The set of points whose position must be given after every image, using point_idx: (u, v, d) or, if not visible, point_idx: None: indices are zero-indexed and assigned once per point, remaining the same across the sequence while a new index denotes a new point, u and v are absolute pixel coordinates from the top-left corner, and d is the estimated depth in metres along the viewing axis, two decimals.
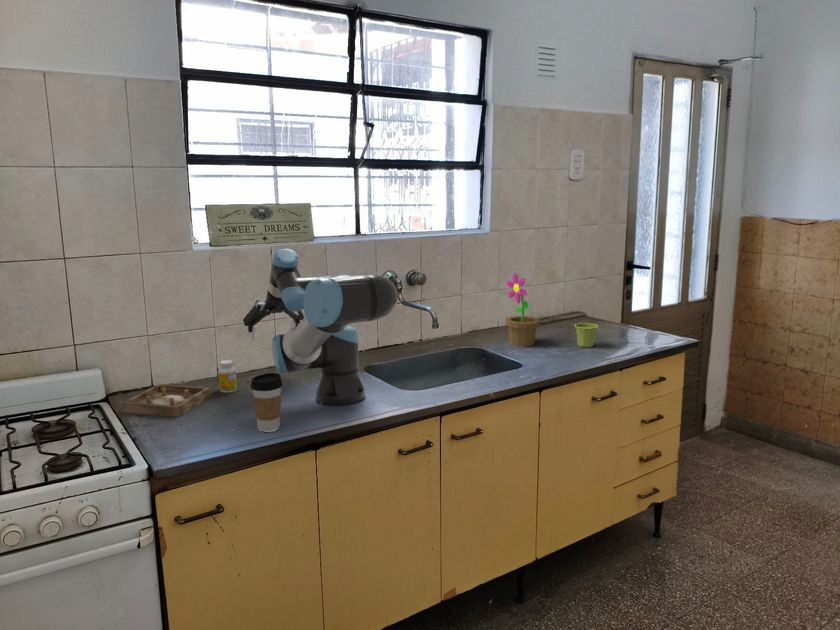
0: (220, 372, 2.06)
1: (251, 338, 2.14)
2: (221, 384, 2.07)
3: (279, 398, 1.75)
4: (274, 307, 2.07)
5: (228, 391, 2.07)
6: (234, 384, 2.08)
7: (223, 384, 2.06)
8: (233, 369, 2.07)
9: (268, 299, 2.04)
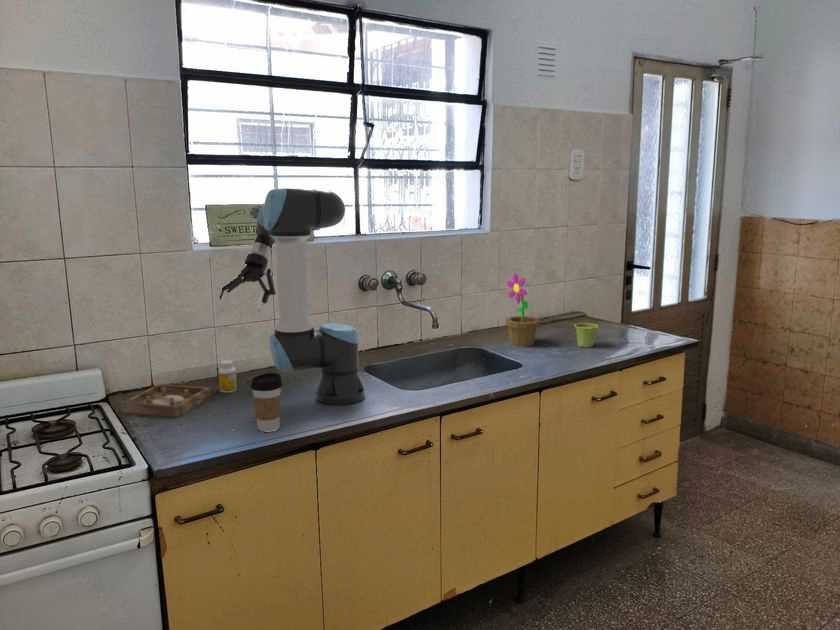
0: (220, 372, 2.06)
1: (219, 304, 2.15)
2: (221, 384, 2.07)
3: (279, 398, 1.75)
4: None
5: (228, 391, 2.07)
6: (234, 384, 2.08)
7: (223, 384, 2.06)
8: (233, 369, 2.07)
9: None
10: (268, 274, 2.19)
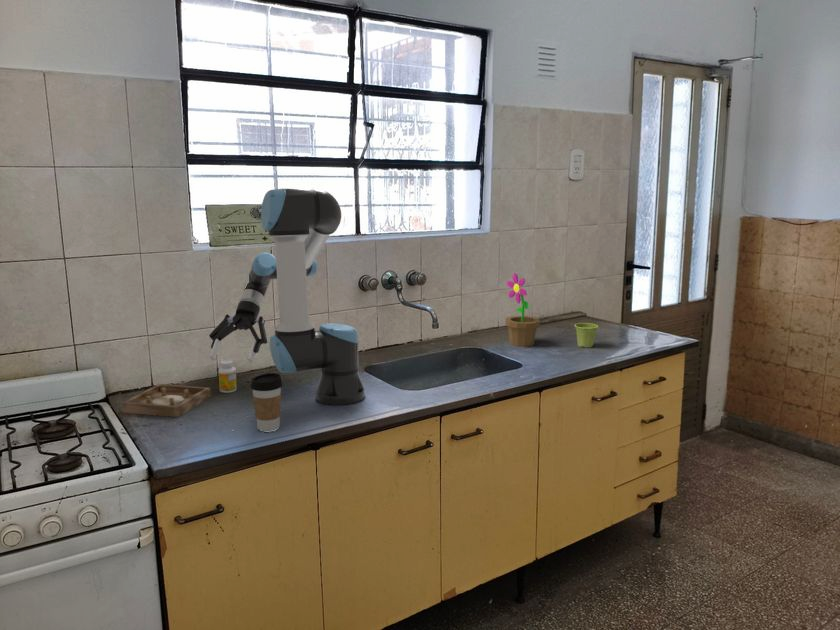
0: (220, 372, 2.06)
1: (210, 353, 2.13)
2: (221, 384, 2.07)
3: (279, 398, 1.75)
4: None
5: (228, 391, 2.07)
6: (234, 384, 2.08)
7: (223, 384, 2.06)
8: (233, 369, 2.07)
9: None
10: (260, 322, 2.17)
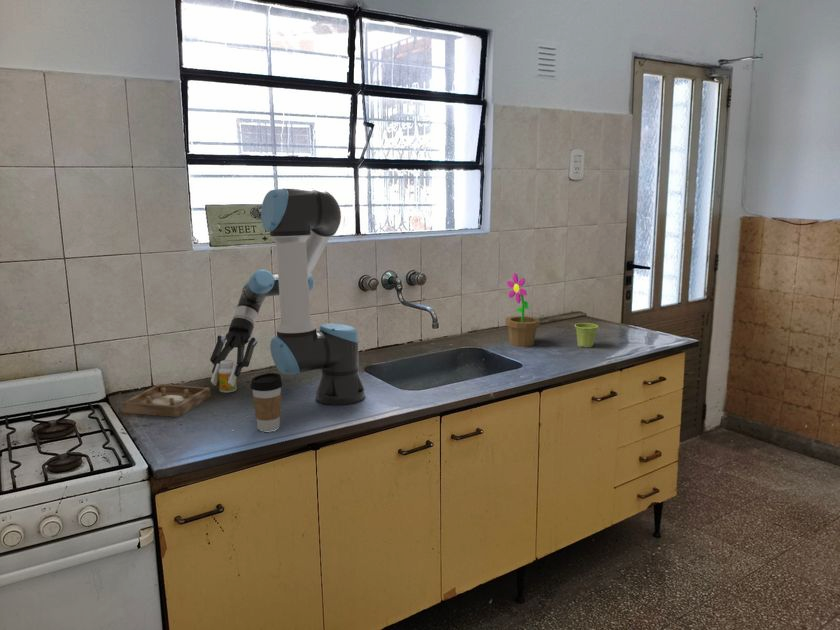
0: (220, 372, 2.06)
1: None
2: (221, 384, 2.07)
3: (279, 398, 1.75)
4: None
5: (228, 391, 2.07)
6: (234, 384, 2.08)
7: (223, 384, 2.06)
8: None
9: None
10: (250, 343, 2.11)
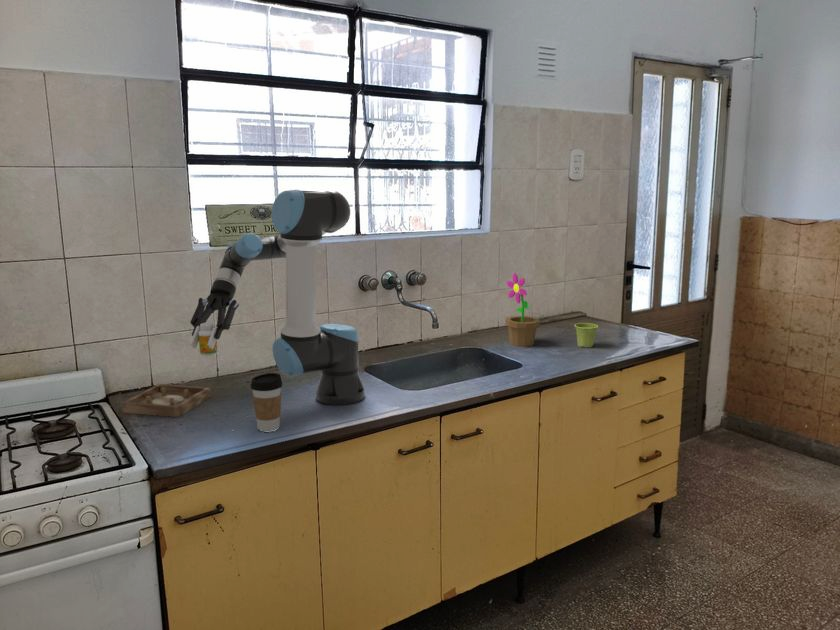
0: (200, 334, 2.02)
1: None
2: (201, 347, 2.02)
3: (279, 398, 1.75)
4: None
5: (208, 354, 2.03)
6: (214, 347, 2.04)
7: (203, 347, 2.02)
8: None
9: None
10: (230, 306, 2.06)
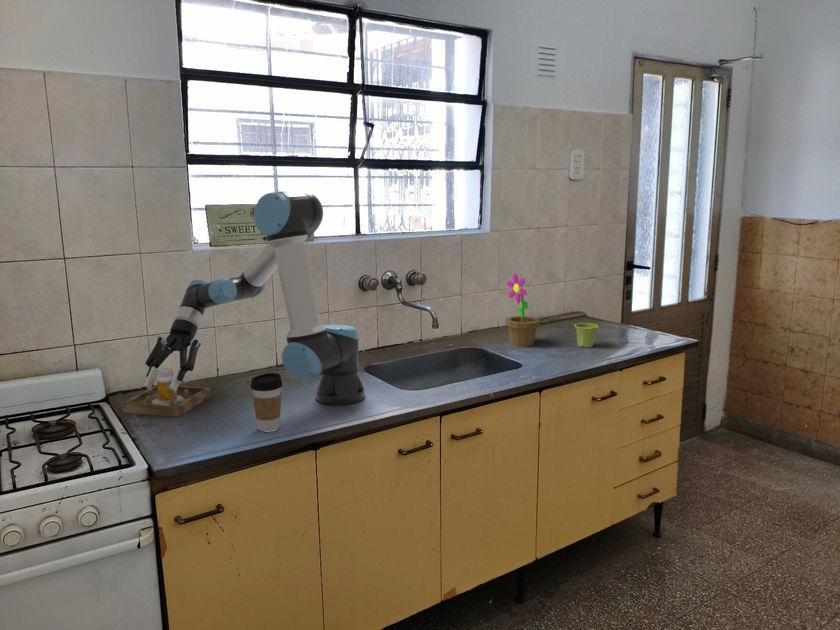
0: (158, 381, 1.93)
1: (145, 383, 1.92)
2: (159, 393, 1.93)
3: (279, 398, 1.75)
4: None
5: (167, 401, 1.94)
6: (174, 393, 1.95)
7: (161, 393, 1.93)
8: (172, 377, 1.94)
9: None
10: (192, 346, 1.97)
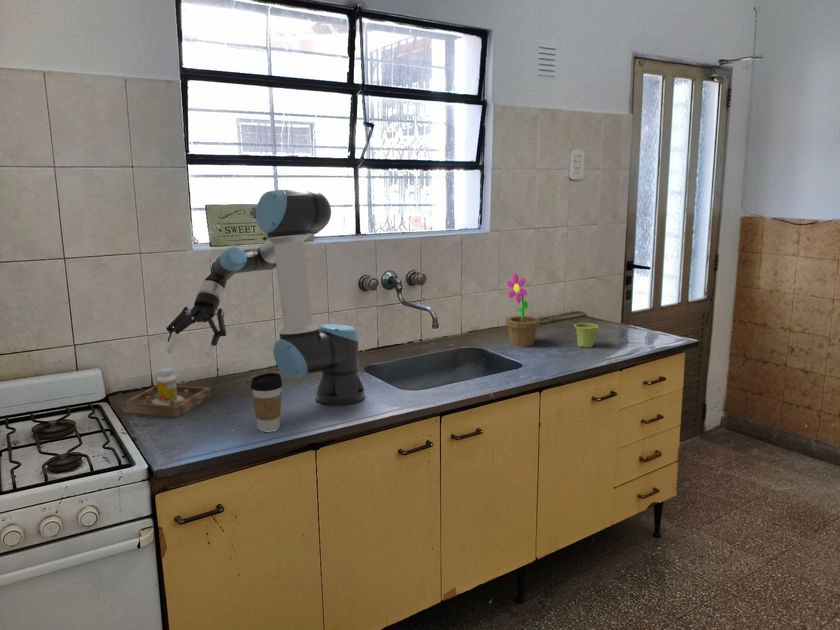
0: (158, 381, 1.93)
1: None
2: (159, 393, 1.94)
3: (279, 398, 1.75)
4: None
5: (167, 401, 1.94)
6: (174, 393, 1.95)
7: (161, 393, 1.93)
8: (172, 377, 1.94)
9: None
10: (219, 314, 2.10)
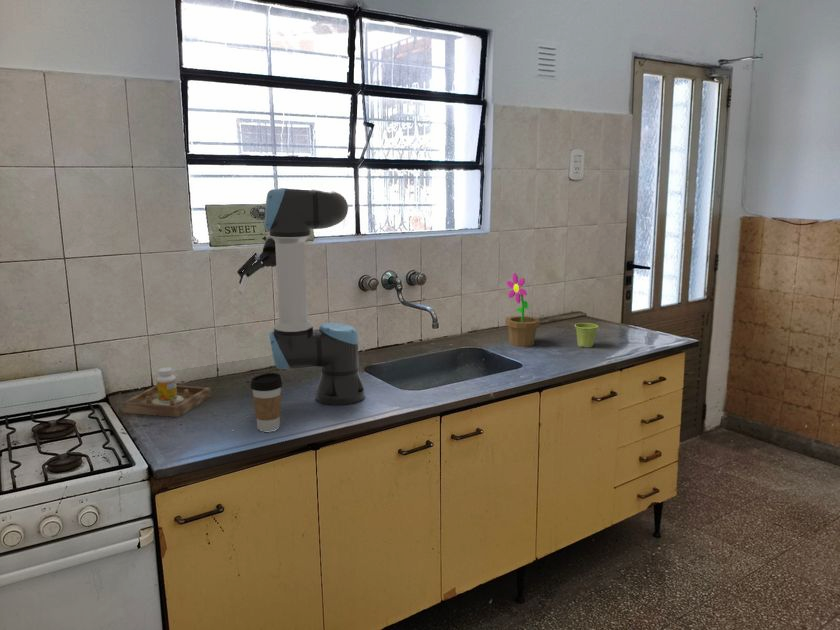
0: (158, 381, 1.93)
1: (239, 288, 2.17)
2: (159, 393, 1.94)
3: (279, 398, 1.75)
4: None
5: (167, 401, 1.94)
6: (174, 393, 1.95)
7: (161, 393, 1.93)
8: (172, 377, 1.94)
9: None
10: None
